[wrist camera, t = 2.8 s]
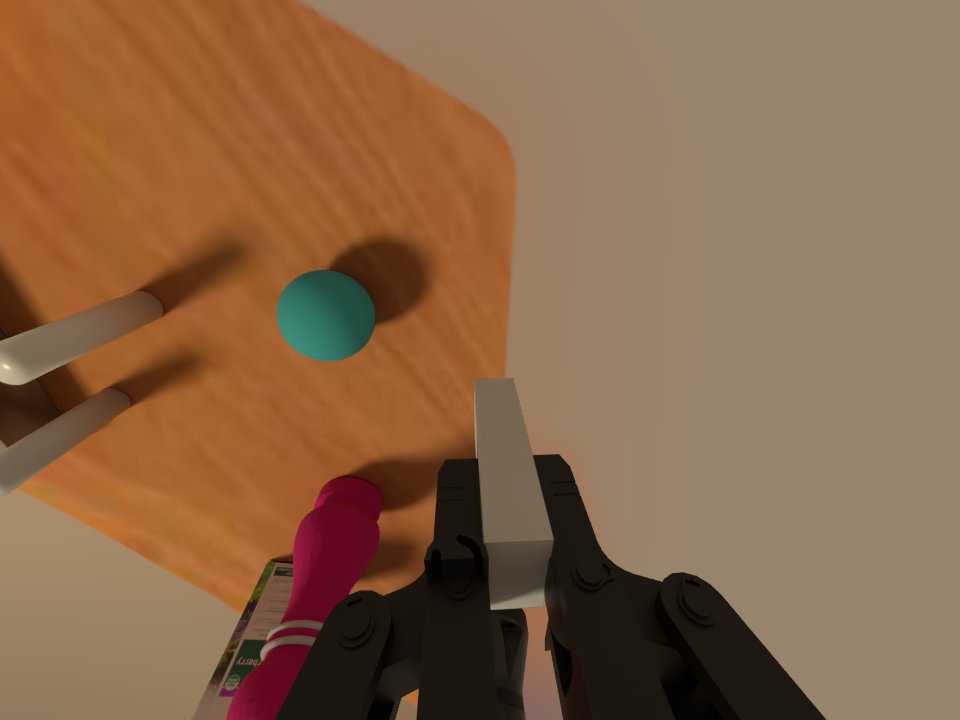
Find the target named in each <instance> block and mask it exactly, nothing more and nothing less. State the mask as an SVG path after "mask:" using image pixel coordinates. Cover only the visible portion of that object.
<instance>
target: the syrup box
mask: <svg viewBox="0 0 960 720" xmlns="http://www.w3.org/2000/svg"><path fill="white" fill-rule="evenodd" d="M292 586H293V564H290V563H278V562H271V561H270V562H268V563H267V564H266V566H265V569H264V571H263V573H262V575H261V577H260V579H259V581H258V583H257V585H256V587H255V589H254V591H253V593H252V595H251V598H250V600H249V602H248V604H247V606H246V608H245V610H244V612H243V614H242V616H241V618H240V620H239V622H238V624H237V627H236V629H235V631H234V633H233V635H232V637H231V639H230V641H229V643H228V645H227V647H226V649H225V651H224V654H223V655H222V658H221V660H220V662H219V664H218V666H217V668H216V670H215V672H214V674H213V676H212V678H211V680H210V682H209V684H208V686H207V688H206V690H205V692H204V694H203V697H202V698H201V700H200V703H199V705H198V707H197V709H196V711H195V713H194V715H193V717H192V720H226V717H227V713H228V709H229V707H230V704H231V701H232V699H233V696H234V694H235V692H236V690H237V688H238V687H239V685H240V683H241V682H242V681H243V680H244V678H245V677H246V676H247V675H248V674H249V673H250V672H251V671H252V670H253V669H255V668H256V667H257V666H258V665H260V664H261V663H262V662H263V661H262V660H261V657H260V655H261V650H262V648H263V647H264V646H265V645H266V642H267V636H268V633H269V632H270V630H271V629H272V628H274V627H275V626H277V625H279V624H280V622H281V620H282V618H283V616H284V614H285V612H286V609H287V606H288V603H289V600H290V597H291V592H292Z"/></svg>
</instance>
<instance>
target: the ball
mask: <svg viewBox="0 0 960 720" xmlns="http://www.w3.org/2000/svg"><path fill="white" fill-rule="evenodd" d="M277 321H278V325H279V328H280V331H281V333H282V335H283V336H284V338H285V339H286V341H287V342H288V343H289V344H290V345H291V346H292V347H293V348H294V349H295V350H296V351H298V352H299V353H301V354H303V355H305V356H307V357H309V358H312V359H316V360H320V361H337V360H342V359H345V358H348V357H350V356H352V355H354V354H356V353H357V352H358V351H360V350H361V349H362V348H363V347H364V346H365V345H366V344H367V342H368V341H369V339H370V338H371V336H372V333H373V330H374V327H375V309H374V305H373V302H372V300H371V298H370V296H369V294H368V293H367V291H366V290H365V289H364V288H363V287H362V286H361V285H360V284H359V283H358V282H357V281H356V280H354V279H353V278H351V277H349V276H347V275H345V274H343V273H339V272H336V271H330V270H318V271H312V272H308V273H305V274H303V275H301V276H299V277H297V278H296V279H294V280H293V281H292V282H291V283H289V284H288V286H287V287H286V288H285V289H284V291H283V293H282V294H281V296H280V299H279V302H278V306H277Z"/></svg>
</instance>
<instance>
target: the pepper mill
mask: <svg viewBox="0 0 960 720" xmlns="http://www.w3.org/2000/svg"><path fill="white" fill-rule="evenodd" d="M381 507H382V496H381V494H380V492H379V490H378V489H377V488H376V487H375V486H374V485H373V484H371V483H369V482H367V481H365V480H362V479H359V478H352V477H343V478H338V479H335V480H332V481H330V482H328V483H327V484H326V485H325V486H324V487H323V488H322V489H321V491H320V494H319V496H318V498H317V501H316V503H315V507H314V510H313V511H311V512H310V513H309V514H307V515H306V516H305V518H304V519H303V520H302V522H301V523H300V525H299V528H298V531H297V534H296V537H295V541H294V548H293V586H292V592H291V597H290V600H289V603H288V606H287V609H286V612H285V614H284V616H283V618H282V620H281V622H280V624H279V625H277V626H275V627H274V628H272V629H271V630H270V632H269V633H268V636H267V642H266V645H265V646H264V647H263V648H262V650H261V655H260V657H261V660H262V661H263V662H262V663H261V664H260V665H258V666H257V667H256V668H255V669H253V670H252V671H251V672H250V673H249V674H248V675H247V676H246V677H245V678H244V680H243V681H242V682H241V683H240V685H239V687H238V688H237V690H236V692H235V694H234V696H233V699H232V701H231V704H230V707H229V709H228V713H227V717H226V720H275V718H276V716H277V714H278V712H279V710H280V708H281V706H282V704H283V702H284V700H285V698H286V696H287V694H288V692H289V691H290V689H291V687H292V685H293V683H294V681H295V679H296V677H297V675H298V673H299V671H300V669H301V667H302V665H303V663H304V661H305V659H306V657H307V655H308V653H309V651H310V649H311V647H312V645H313V643H314V641H315V639H316V638H317V636H318V634H319V632H320V630H321V628H322V626H323V624H324V622H325V620H326V618H327V617H328V615H329V614H330V612H331V611H332V609H333V608H334V607H335V605H336V604H338V603H339V602H340V601H341V600H343V599H344V598H345V597H346V596H348V595H349V593H350V591H351V589H352V587H353V586H354V584H355V583H356V581H357V580H358V579H359V578H360V576H361V575H362V574H363V572H364V571H365V570H366V568H367V567H368V565H369V564H370V562H371V560H372V558H373V556H374V554H375V552H376V549H377V546H378V542H379V537H380V531H379V527H378V524H377V520H378V518H379V515H380V511H381Z"/></svg>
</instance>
